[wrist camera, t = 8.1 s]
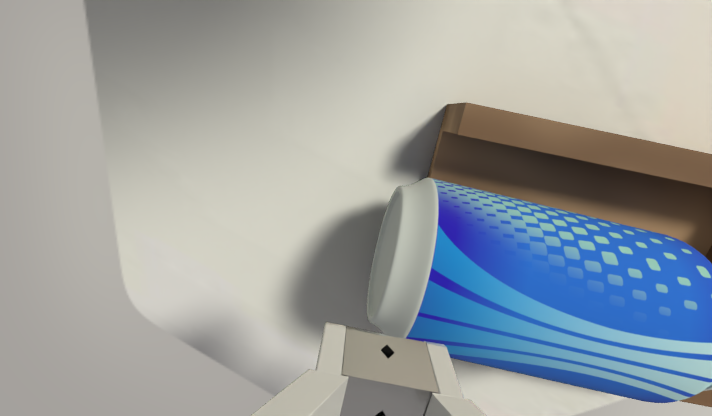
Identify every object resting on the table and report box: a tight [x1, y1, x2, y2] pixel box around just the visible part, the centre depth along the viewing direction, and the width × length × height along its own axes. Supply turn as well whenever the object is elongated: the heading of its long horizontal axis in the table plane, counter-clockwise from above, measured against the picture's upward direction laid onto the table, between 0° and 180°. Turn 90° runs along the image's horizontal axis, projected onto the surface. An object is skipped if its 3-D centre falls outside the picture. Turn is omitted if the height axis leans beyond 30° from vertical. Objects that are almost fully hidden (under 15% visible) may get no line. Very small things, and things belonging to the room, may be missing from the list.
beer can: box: [367, 178, 712, 403], centre depth 17 cm, size 8×8×16 cm
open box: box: [427, 103, 712, 407], centre depth 20 cm, size 14×20×4 cm
